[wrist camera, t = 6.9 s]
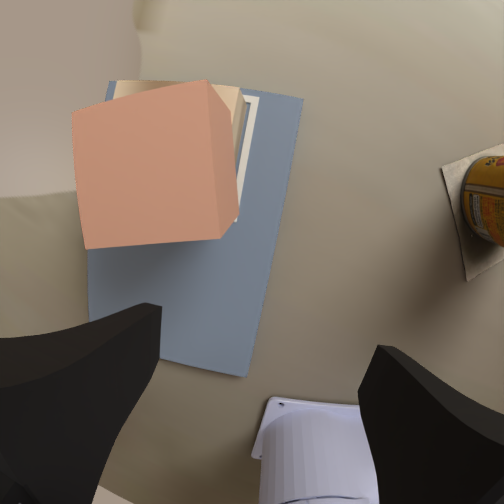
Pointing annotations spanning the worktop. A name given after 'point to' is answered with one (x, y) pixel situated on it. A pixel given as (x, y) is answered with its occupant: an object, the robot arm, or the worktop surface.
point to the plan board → (211, 254)
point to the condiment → (478, 207)
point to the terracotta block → (155, 167)
